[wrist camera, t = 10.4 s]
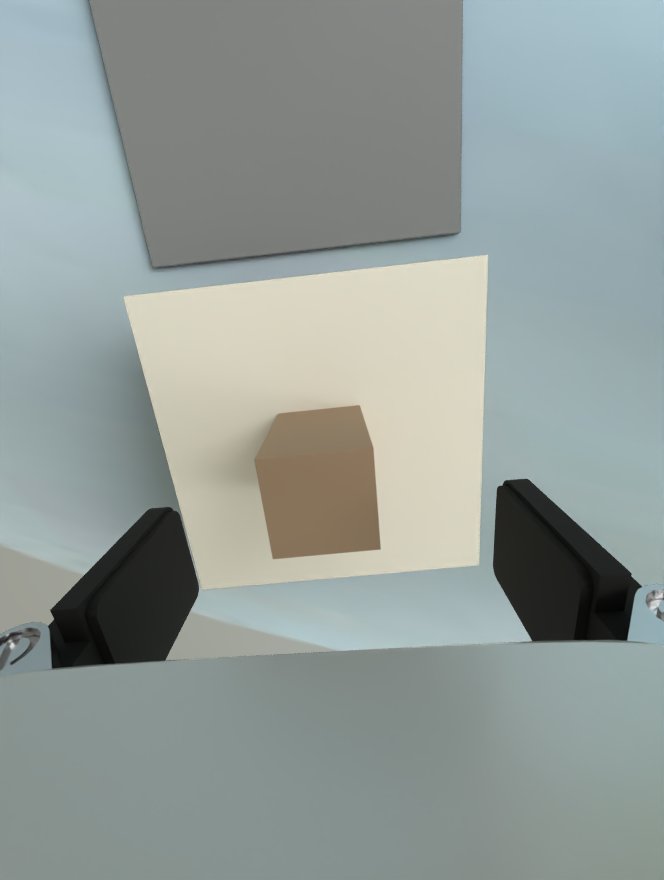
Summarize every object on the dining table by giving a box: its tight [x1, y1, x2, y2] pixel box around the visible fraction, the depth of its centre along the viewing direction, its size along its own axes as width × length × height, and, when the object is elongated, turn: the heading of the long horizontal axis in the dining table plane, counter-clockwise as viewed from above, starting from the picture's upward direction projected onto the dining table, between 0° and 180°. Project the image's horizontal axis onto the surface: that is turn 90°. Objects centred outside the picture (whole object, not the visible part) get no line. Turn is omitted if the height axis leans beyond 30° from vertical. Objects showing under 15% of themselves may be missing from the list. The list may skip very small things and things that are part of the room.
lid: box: [123, 255, 488, 590], centre depth 16 cm, size 16×16×7 cm
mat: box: [89, 0, 463, 268], centre depth 19 cm, size 18×18×1 cm
